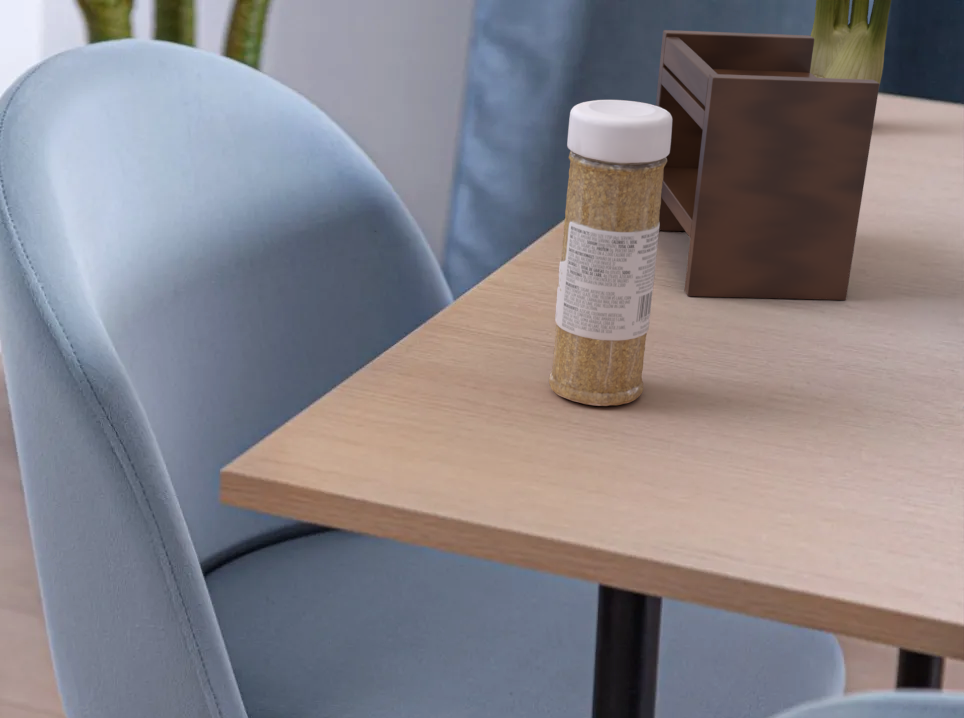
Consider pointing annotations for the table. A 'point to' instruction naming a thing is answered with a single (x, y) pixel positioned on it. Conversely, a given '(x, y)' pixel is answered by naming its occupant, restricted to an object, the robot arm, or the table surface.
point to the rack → (762, 164)
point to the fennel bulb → (849, 39)
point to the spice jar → (609, 249)
